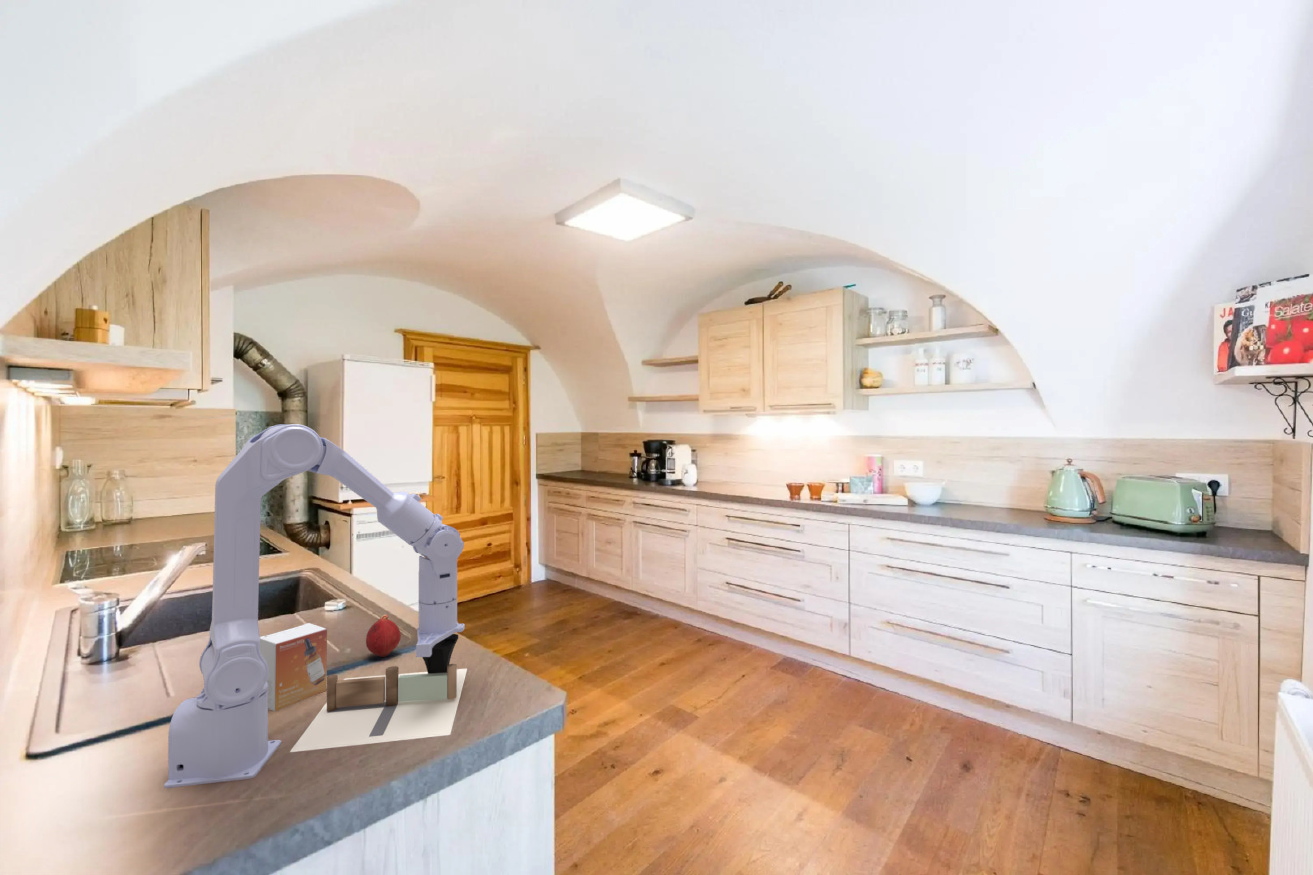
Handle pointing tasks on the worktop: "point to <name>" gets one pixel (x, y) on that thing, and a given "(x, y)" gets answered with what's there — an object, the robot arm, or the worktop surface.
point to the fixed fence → (363, 690)
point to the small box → (295, 664)
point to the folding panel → (429, 686)
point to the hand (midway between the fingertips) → (437, 683)
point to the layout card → (381, 721)
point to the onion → (383, 637)
